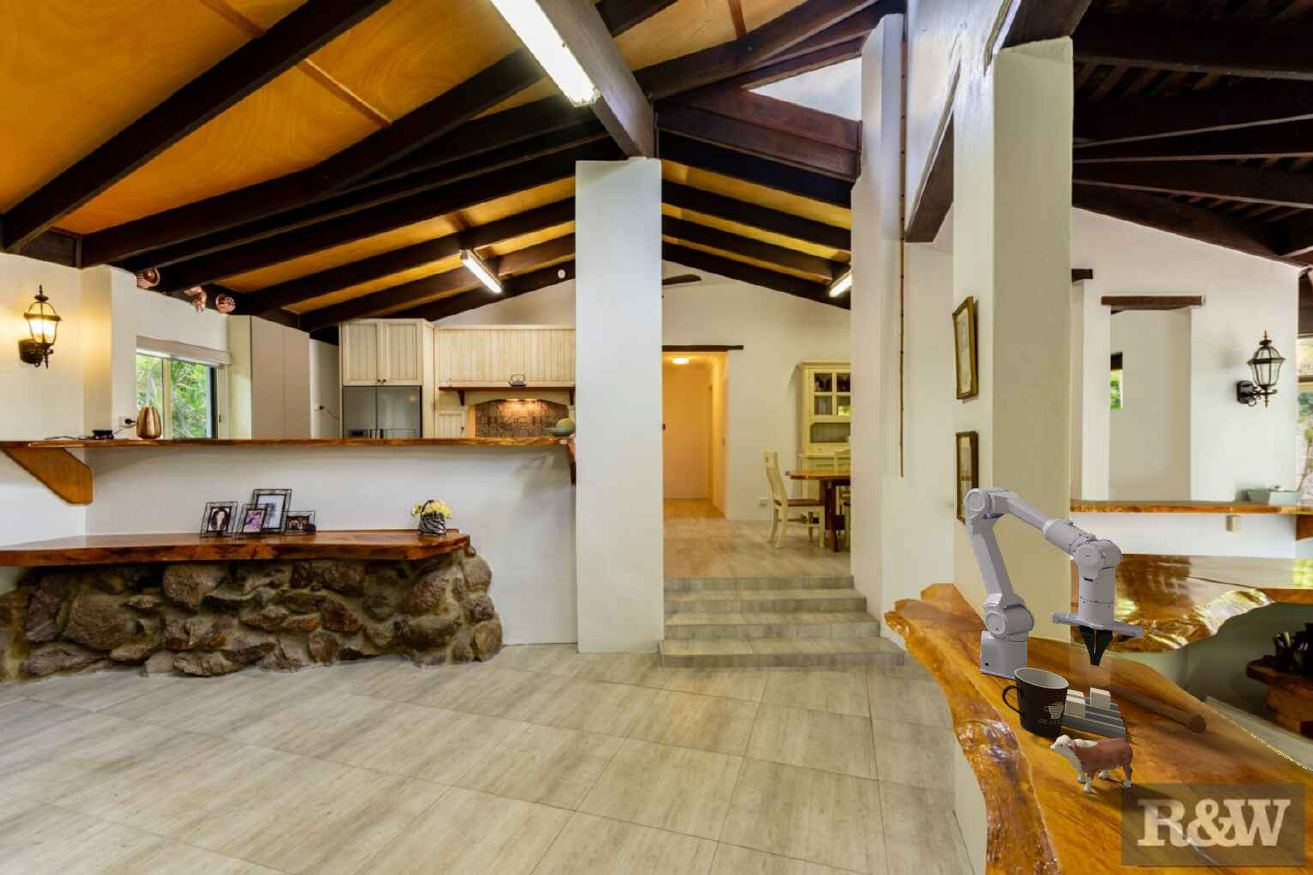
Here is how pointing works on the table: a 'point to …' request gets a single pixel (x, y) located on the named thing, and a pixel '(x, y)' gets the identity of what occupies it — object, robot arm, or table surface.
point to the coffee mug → (1039, 701)
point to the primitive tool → (1159, 707)
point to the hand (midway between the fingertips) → (1094, 664)
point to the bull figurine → (1096, 757)
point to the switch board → (1098, 720)
